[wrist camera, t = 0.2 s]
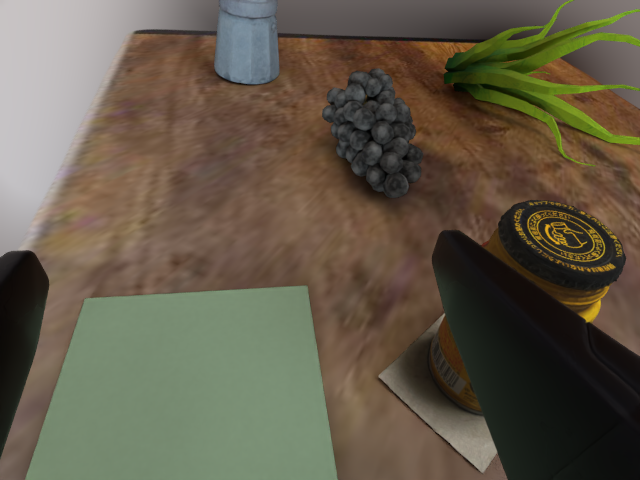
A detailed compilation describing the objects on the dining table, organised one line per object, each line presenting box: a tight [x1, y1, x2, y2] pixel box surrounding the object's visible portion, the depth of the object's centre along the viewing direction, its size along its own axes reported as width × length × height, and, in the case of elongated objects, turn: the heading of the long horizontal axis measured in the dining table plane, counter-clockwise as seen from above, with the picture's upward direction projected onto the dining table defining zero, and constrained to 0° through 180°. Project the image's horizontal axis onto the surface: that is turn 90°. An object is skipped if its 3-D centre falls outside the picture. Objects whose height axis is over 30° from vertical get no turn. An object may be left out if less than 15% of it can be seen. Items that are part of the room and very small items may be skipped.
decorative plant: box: [444, 0, 640, 166], centre depth 48 cm, size 18×30×15 cm, turn 25°
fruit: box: [322, 69, 423, 198], centre depth 40 cm, size 9×8×15 cm
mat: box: [25, 285, 338, 480], centre depth 21 cm, size 22×15×1 cm
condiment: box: [379, 200, 626, 473], centre depth 22 cm, size 7×8×12 cm
